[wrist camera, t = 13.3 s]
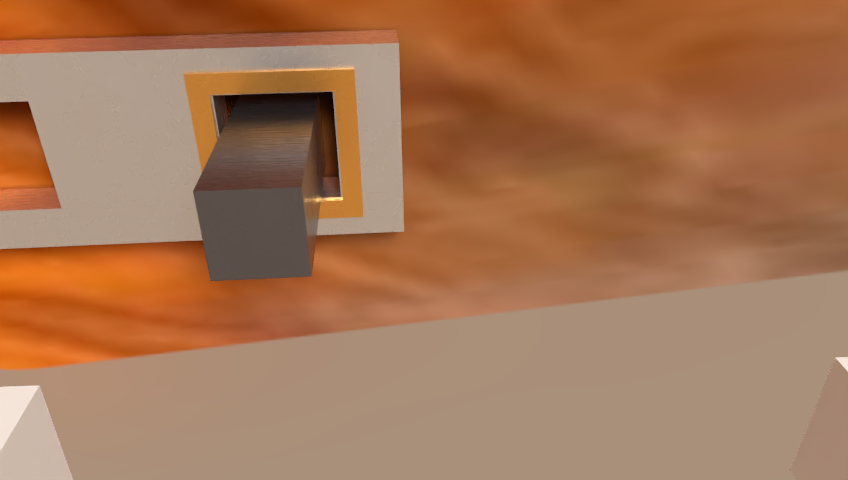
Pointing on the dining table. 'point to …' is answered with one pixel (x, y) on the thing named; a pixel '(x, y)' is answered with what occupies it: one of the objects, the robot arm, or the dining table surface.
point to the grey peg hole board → (190, 128)
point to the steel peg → (263, 189)
